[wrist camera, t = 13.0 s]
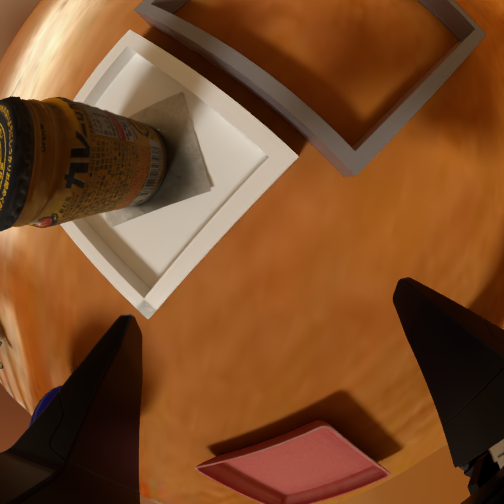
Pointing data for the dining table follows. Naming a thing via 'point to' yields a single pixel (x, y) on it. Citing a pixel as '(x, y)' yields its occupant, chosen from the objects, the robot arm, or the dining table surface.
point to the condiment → (94, 161)
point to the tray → (189, 210)
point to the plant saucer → (296, 467)
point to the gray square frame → (295, 110)
